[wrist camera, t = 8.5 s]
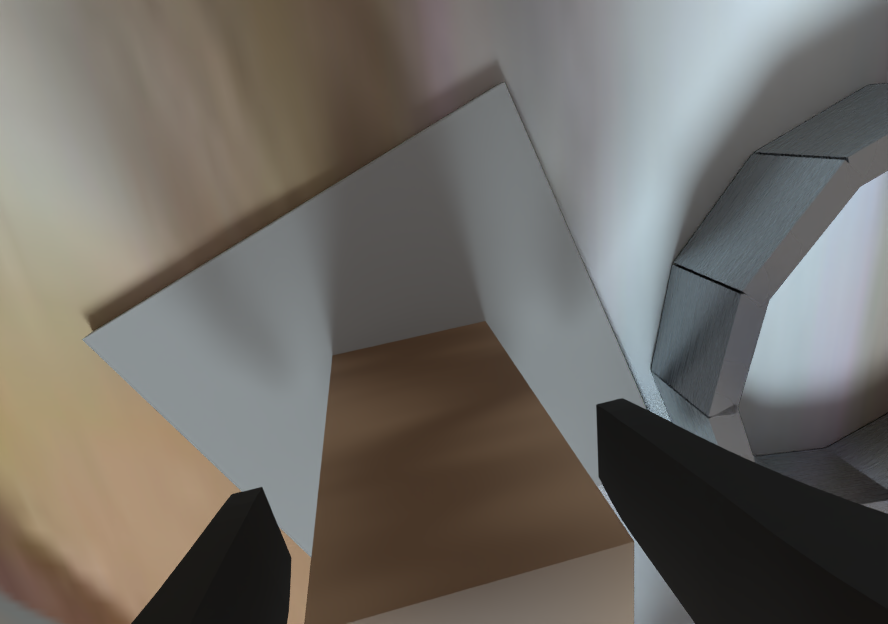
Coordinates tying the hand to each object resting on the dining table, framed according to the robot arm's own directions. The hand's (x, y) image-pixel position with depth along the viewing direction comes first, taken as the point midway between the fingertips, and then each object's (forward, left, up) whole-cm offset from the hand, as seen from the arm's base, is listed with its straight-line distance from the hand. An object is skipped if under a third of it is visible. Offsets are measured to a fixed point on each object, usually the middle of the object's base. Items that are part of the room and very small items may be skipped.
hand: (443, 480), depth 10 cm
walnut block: (0, 0, -3) cm, 3 cm away
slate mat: (0, 0, -3) cm, 3 cm away
